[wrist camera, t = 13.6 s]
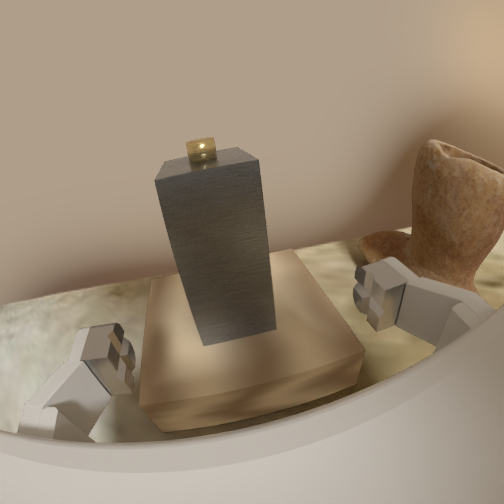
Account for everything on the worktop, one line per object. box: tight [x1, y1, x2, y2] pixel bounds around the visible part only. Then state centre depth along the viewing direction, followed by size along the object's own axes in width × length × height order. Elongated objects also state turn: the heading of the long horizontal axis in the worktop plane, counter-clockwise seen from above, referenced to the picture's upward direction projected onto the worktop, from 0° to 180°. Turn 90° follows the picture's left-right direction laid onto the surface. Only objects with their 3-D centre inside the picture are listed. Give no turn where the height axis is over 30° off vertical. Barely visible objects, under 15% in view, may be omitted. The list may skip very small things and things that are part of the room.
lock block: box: [155, 137, 277, 346], centre depth 17 cm, size 5×6×12 cm
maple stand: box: [139, 249, 365, 432], centre depth 21 cm, size 14×14×4 cm
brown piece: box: [358, 139, 504, 295], centre depth 21 cm, size 15×12×15 cm
